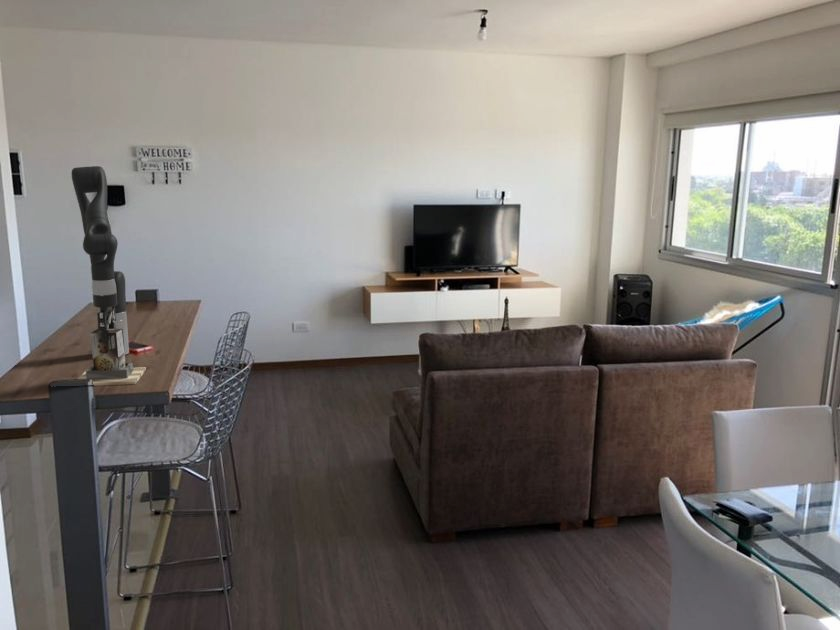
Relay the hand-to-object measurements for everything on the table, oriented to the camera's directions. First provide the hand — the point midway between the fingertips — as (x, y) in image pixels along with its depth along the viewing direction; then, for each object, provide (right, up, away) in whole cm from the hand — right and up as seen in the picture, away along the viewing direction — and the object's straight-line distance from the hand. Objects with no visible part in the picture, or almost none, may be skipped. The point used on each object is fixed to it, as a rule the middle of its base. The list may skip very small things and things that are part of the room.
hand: (108, 338), depth 233 cm
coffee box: (0, -13, +3) cm, 14 cm away
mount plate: (0, -14, +3) cm, 14 cm away
